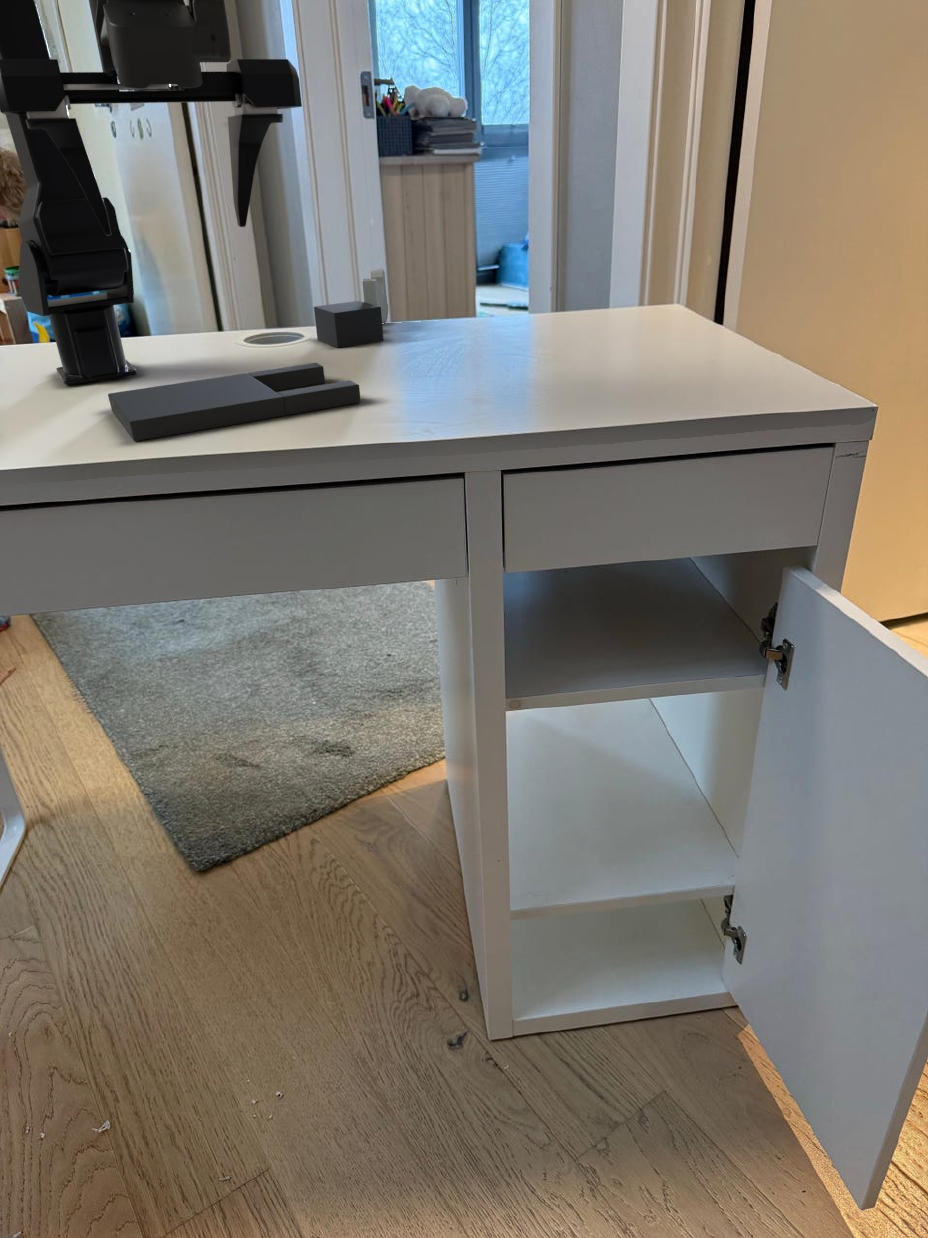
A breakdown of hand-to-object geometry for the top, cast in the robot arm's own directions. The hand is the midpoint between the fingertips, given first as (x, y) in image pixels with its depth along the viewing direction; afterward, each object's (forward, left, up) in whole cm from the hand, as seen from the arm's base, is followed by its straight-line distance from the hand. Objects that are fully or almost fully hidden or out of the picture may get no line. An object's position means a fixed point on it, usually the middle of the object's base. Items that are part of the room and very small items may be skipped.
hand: (176, 230), depth 61 cm
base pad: (-2, +3, -14) cm, 14 cm away
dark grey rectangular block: (-22, +21, -14) cm, 33 cm away
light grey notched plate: (-28, +27, -14) cm, 41 cm away
